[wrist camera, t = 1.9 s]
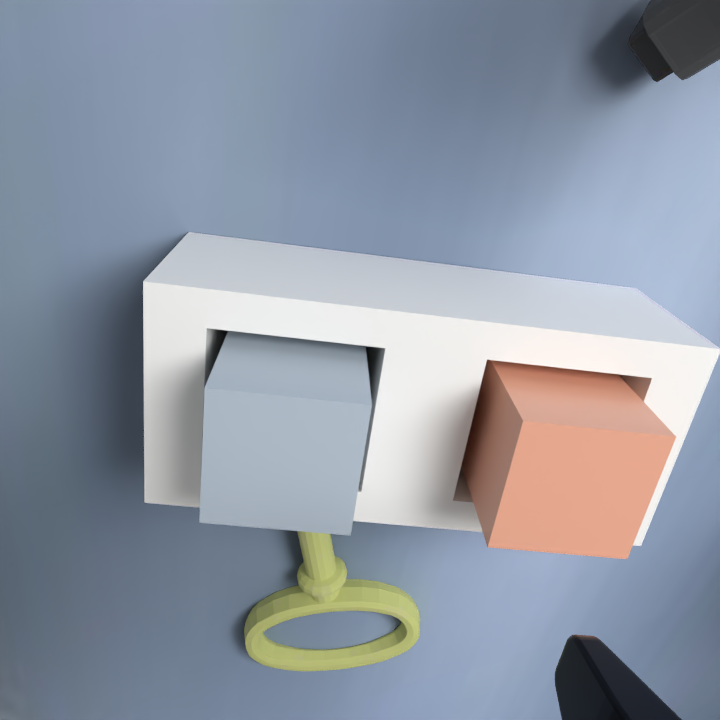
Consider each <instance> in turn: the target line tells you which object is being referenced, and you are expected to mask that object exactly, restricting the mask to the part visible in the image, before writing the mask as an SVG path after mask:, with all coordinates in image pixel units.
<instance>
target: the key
mask: <svg viewBox="0 0 720 720" xmlns="http://www.w3.org/2000/svg"><path fill="white" fill-rule="evenodd" d="M297 532H298V536H299V541H300V546H301V550H302V555H303V560H304V562H303V563H302V564H301V565H300V567H299V570H298V573H297V579H298V584H299V585H297V586H293V587H289V588H286V589H283V590H281V591H278V592H275V593H273V594H272V595H270V596H268V597H266V598H265V599H263V600H261V601H259V602H258V603H257V604H256V605H255V606H254V608H253V609H252V610H251V612H250V613H249V615H248V617H247V620H246V624H245V628H244V635H245V645H246V650H247V652H248V654H249V656H250V657H251V658H253V659H254V660H255V661H257V662H259V663H261V664H263V665H265V666H269V667H273V668H278V669H284V670H293V671H323V670H338V669H345V668H352V667H358V666H364V665H369V664H374V663H378V662H381V661H384V660H387V659H390V658H392V657H395V656H397V655H400V654H401V653H403V652H405V651H407V650H409V649H410V648H411V647H412V646H413V645H414V644H415V643H416V641H417V640H418V638H419V629H420V616H419V611H418V608H417V606H416V604H415V602H414V601H413V599H412V598H411V597H410V596H409V595H408V594H407V593H405V592H404V591H402V590H401V589H399V588H397V587H395V586H391V585H388V584H385V583H381V582H378V581H370V580H362V579H346V576H347V569H346V566H345V563H344V561H343V560H342V559H341V558H338V557H334V551H333V545H332V539H331V534H326V533H315V532H303V531H297ZM334 611H371V612H378V613H383V614H387V615H392V616H394V617H396V618H398V619H399V620H400V621H402V622H401V624H400V625H399V626H398V627H397V628H396V629H395V630H394V631H392V632H391V633H389V634H387V635H384V636H382V637H380V638H378V639H376V640H373V641H370V642H367V643H363V644H360V645H355V646H351V647H345V648H338V649H326V650H318V649H300V648H294V647H290V646H285V645H281V644H277V643H274V642H273V641H271V640H269V639H268V638H267V637H266V636H265V635H264V634H263V632H264V631H265V630H266V629H268V628H270V627H272V626H274V625H276V624H279V623H281V622H283V621H286V620H289V619H292V618H296V617H301V616H306V615H311V614H317V613H324V612H334Z"/></svg>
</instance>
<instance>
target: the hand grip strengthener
mask: <svg viewBox="0 0 720 720" xmlns="http://www.w3.org/2000/svg"><path fill="white" fill-rule="evenodd" d="M628 45H629V47H630V49H631V50H632V51H633V53H634V54H635V55H636V57H637V58H638V60H639V61H640V62H641V64H642V65H643V66H644V68H645V69H646V71H647V72H648V73H649V75H650V76H651V77H652V79H653V80H654V81H656V82H658V81H660V80H661V79H663V78H665V77H666V76H668V75H669V74H671V73H673V72H674V73H675V75H677V76H678V77H679V78H680V79H681V80H684V79H687V78H689V77H691V76H692V75H694V74H696V73H697V72H699V71H701V70H703V69H704V68H706V67H708V66H709V65H711V64H713V63H714V62H716V61H718V60H719V59H720V0H651V1H650V3H649V4H648V6H647V8H646V10H645V11H644V13H643V16H642V18H641V19H640V21H639V23H638V24H637V26H636V28H635V29H634V31H633V33H632V35H631V36H630V38H629V42H628Z"/></svg>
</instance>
